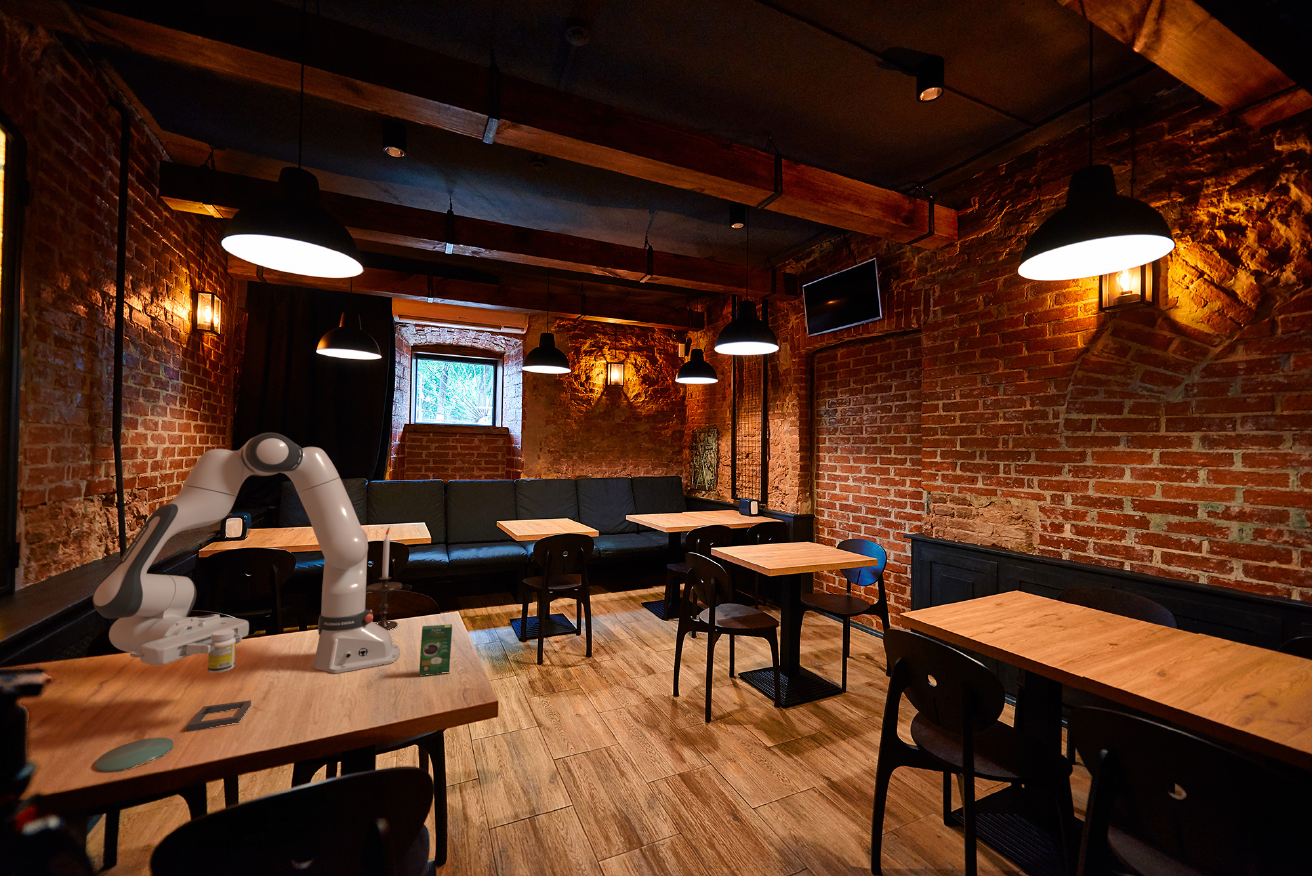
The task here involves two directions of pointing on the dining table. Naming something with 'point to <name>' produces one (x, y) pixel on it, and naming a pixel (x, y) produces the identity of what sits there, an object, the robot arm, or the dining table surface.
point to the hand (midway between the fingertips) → (225, 644)
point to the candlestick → (385, 587)
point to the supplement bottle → (222, 651)
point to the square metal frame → (198, 724)
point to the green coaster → (133, 754)
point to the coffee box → (435, 649)
